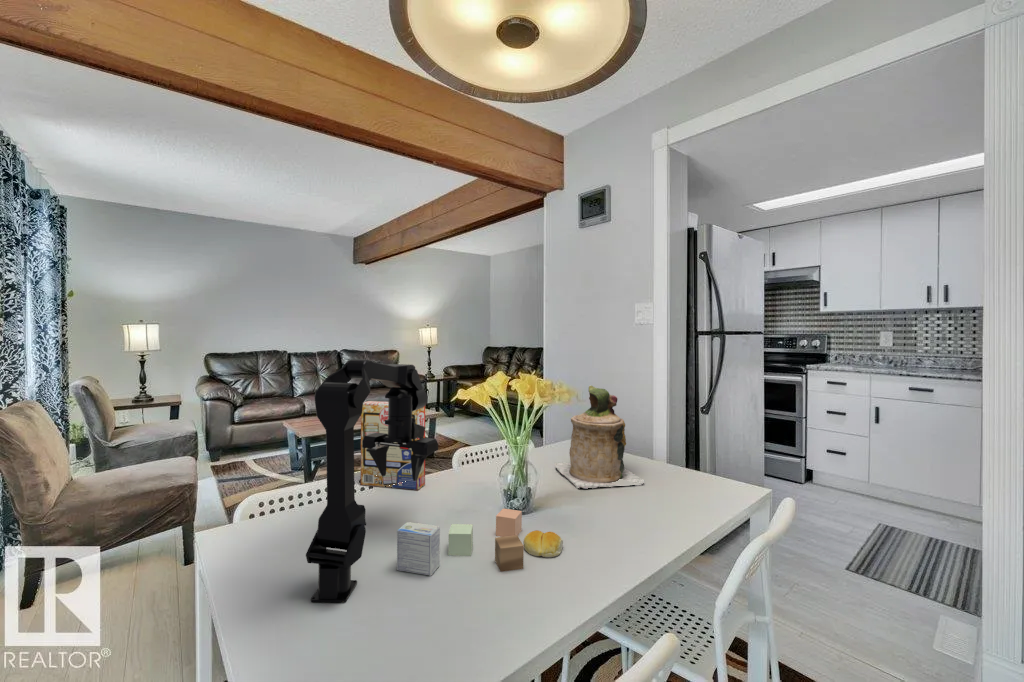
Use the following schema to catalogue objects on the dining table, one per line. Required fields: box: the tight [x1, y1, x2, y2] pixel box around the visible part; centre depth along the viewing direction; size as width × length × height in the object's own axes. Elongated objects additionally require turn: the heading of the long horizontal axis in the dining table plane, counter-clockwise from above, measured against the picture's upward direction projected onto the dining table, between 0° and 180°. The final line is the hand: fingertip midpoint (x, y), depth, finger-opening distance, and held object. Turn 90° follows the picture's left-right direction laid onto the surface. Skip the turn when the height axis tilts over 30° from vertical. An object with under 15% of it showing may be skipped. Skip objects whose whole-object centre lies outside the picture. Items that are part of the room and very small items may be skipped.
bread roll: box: [522, 530, 564, 559], centre depth 101 cm, size 8×9×4 cm
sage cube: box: [447, 523, 474, 557], centre depth 100 cm, size 5×5×5 cm
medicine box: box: [396, 521, 441, 577], centre depth 92 cm, size 8×4×9 cm, turn 74°
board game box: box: [359, 400, 426, 491], centre depth 143 cm, size 20×6×27 cm, turn 77°
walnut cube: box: [494, 535, 525, 573], centre depth 94 cm, size 5×5×5 cm
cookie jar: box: [554, 385, 645, 490], centre depth 154 cm, size 25×25×32 cm
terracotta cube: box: [495, 508, 523, 537], centre depth 109 cm, size 5×5×5 cm
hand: (399, 478), depth 108 cm, fingers open, 9 cm apart
